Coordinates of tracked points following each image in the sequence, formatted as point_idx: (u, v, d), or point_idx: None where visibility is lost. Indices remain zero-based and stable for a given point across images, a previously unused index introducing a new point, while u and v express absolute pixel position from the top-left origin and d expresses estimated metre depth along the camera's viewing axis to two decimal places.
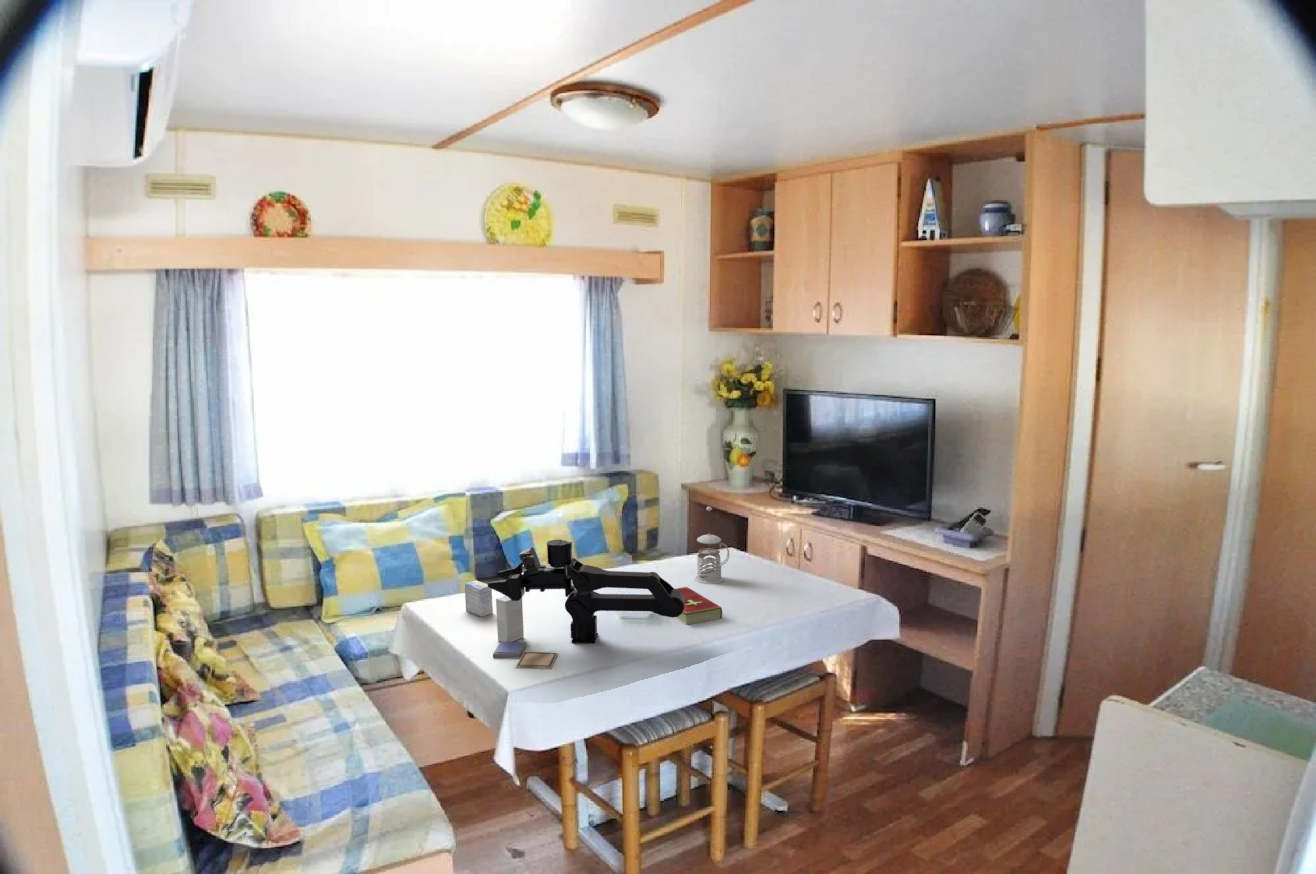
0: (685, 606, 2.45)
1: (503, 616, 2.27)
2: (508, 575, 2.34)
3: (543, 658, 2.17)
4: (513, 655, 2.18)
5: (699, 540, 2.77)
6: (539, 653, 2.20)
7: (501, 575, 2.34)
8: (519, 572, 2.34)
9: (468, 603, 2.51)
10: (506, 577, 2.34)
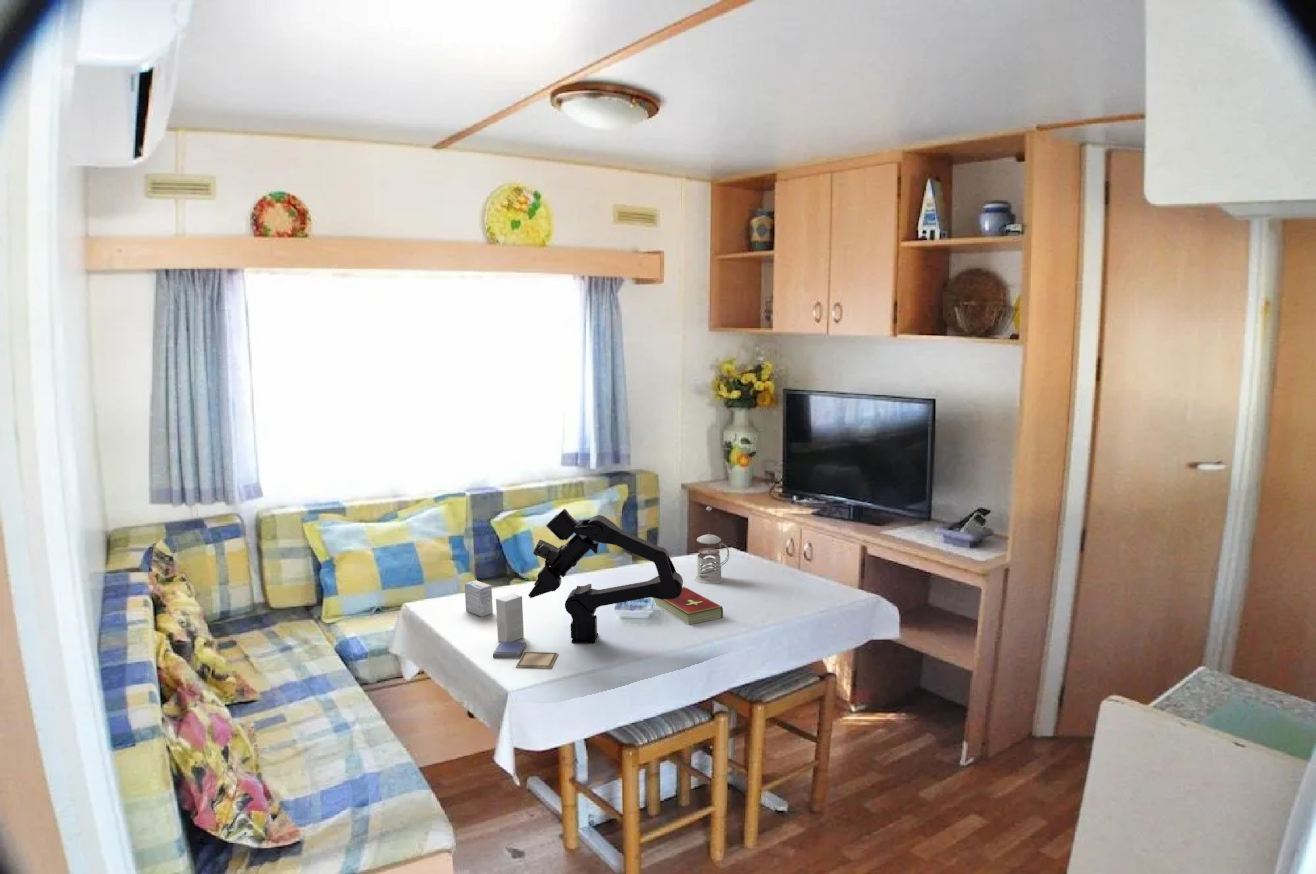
0: (686, 606, 2.45)
1: (503, 616, 2.27)
2: None
3: (543, 658, 2.17)
4: (513, 655, 2.18)
5: (699, 540, 2.77)
6: (539, 653, 2.20)
7: None
8: None
9: (468, 603, 2.51)
10: None
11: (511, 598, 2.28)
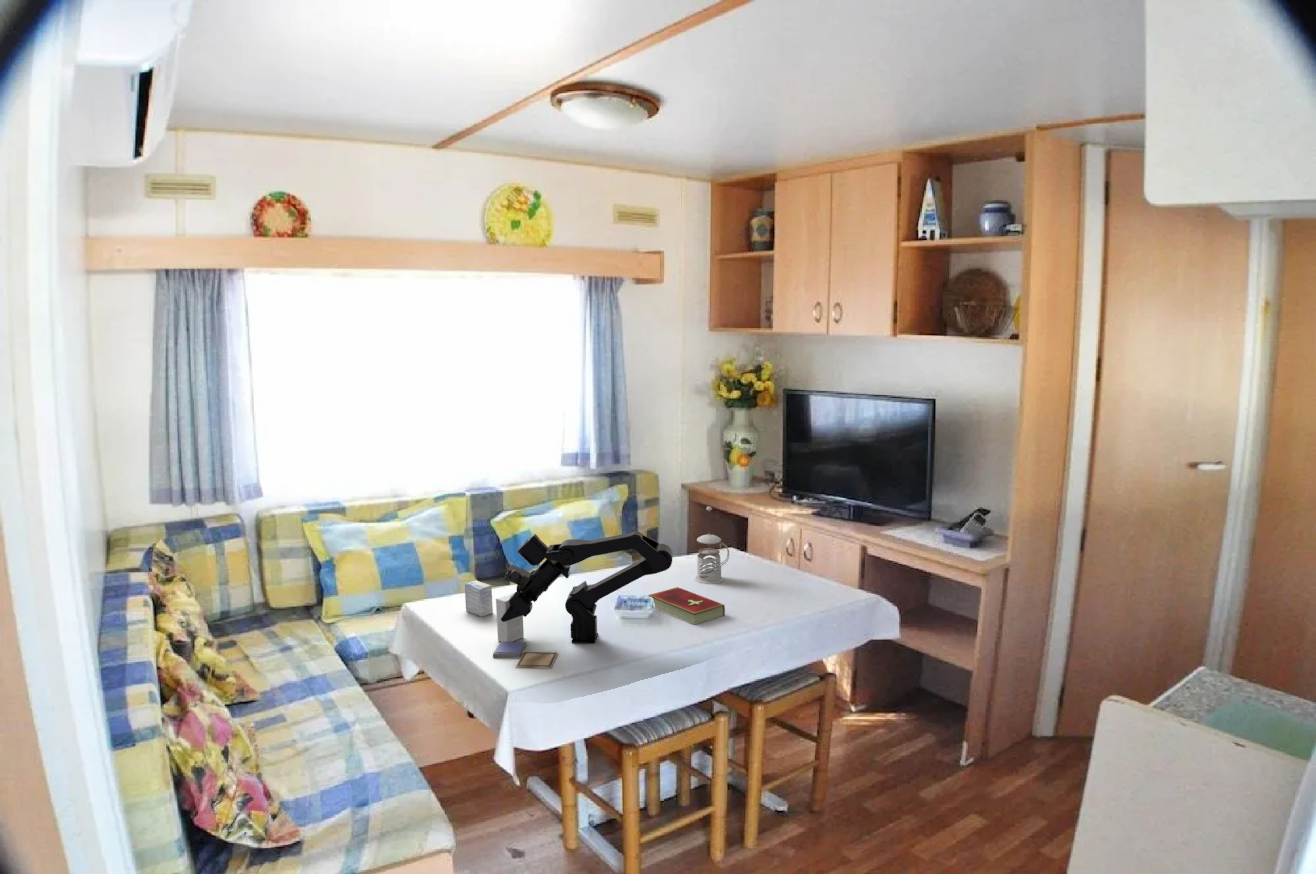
0: (689, 606, 2.45)
1: None
2: None
3: (543, 658, 2.17)
4: (513, 655, 2.18)
5: (699, 540, 2.77)
6: (539, 653, 2.20)
7: None
8: None
9: (468, 603, 2.51)
10: None
11: None
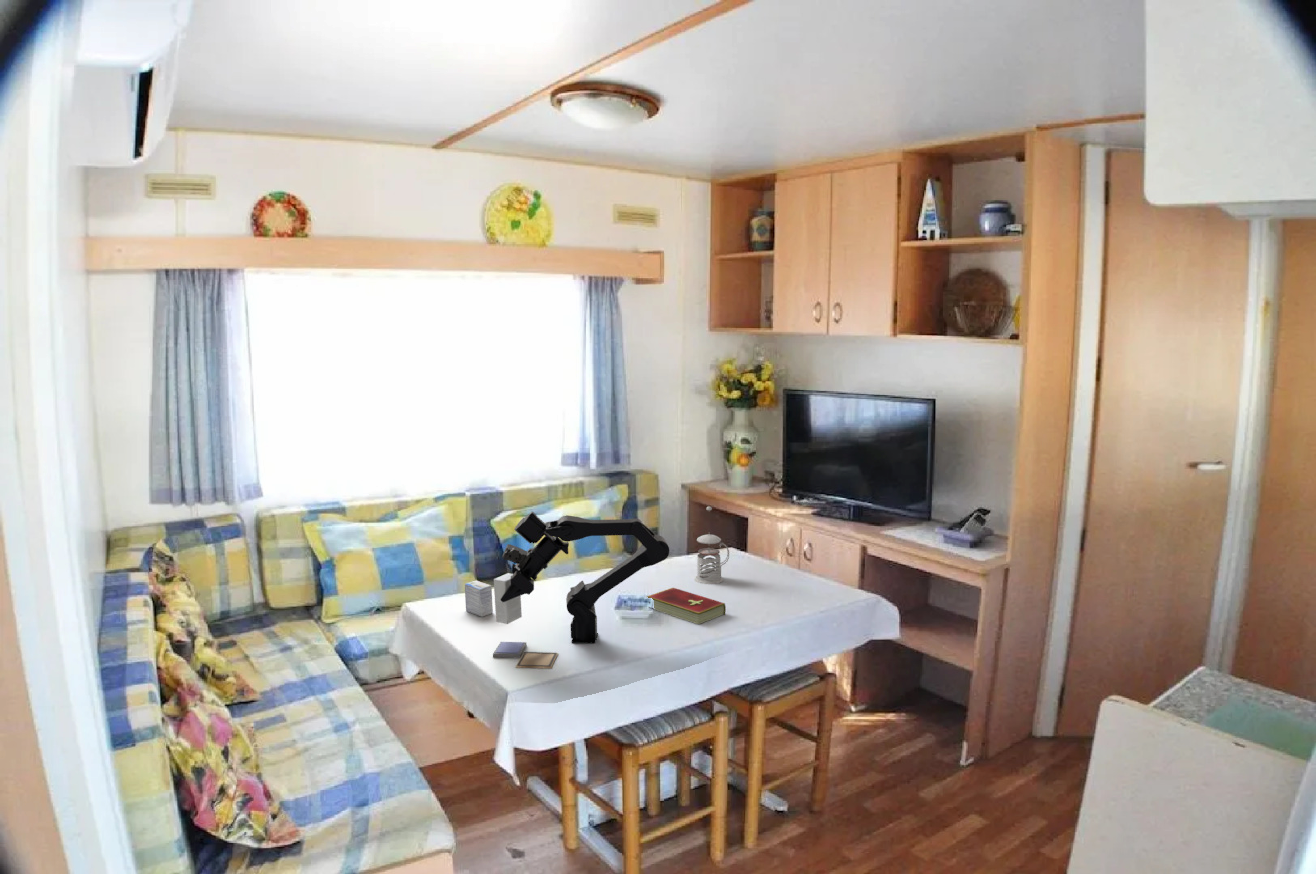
0: (691, 606, 2.45)
1: None
2: None
3: (543, 658, 2.17)
4: (513, 655, 2.18)
5: (699, 540, 2.77)
6: (539, 653, 2.20)
7: None
8: None
9: (468, 603, 2.51)
10: None
11: (509, 578, 2.24)
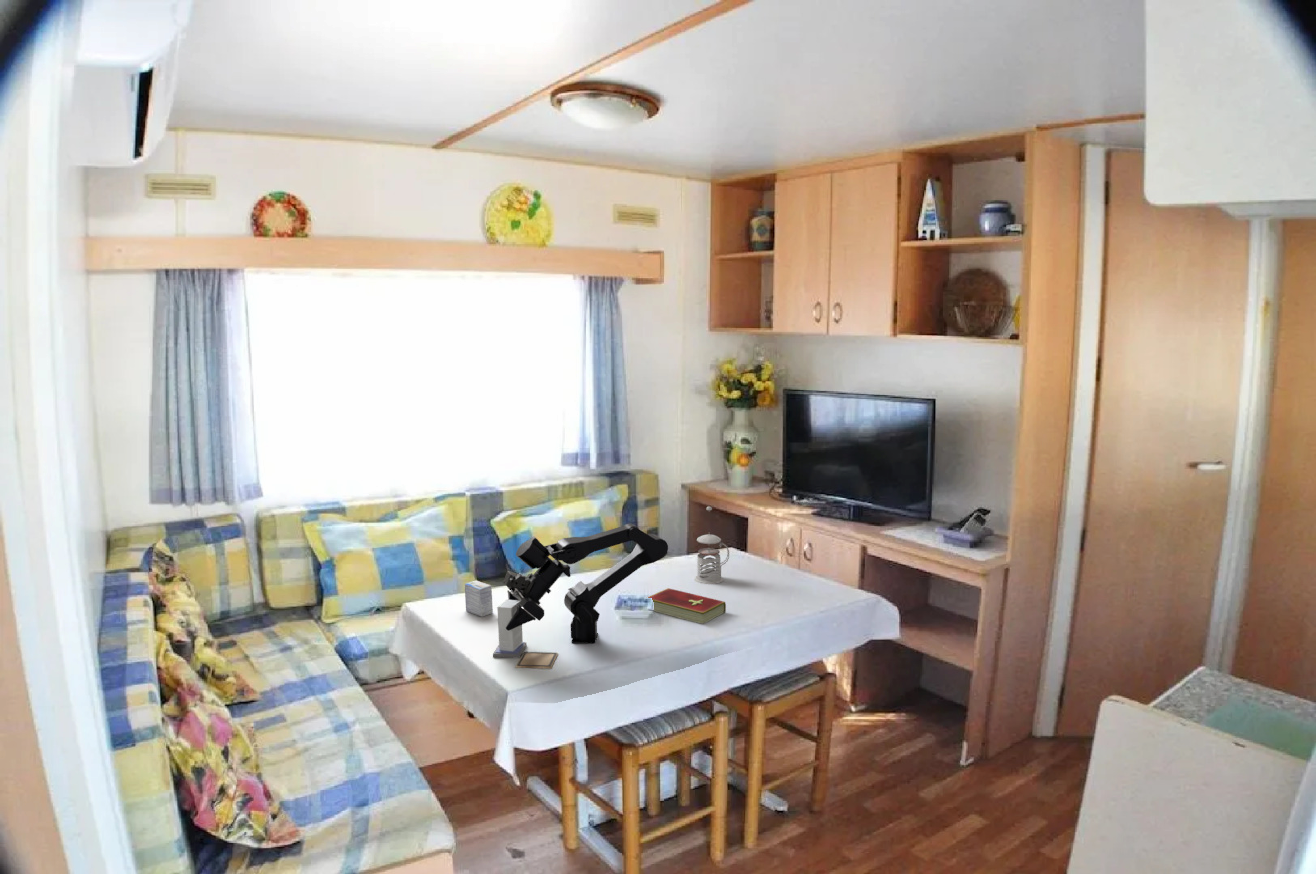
0: (693, 606, 2.45)
1: None
2: None
3: (543, 658, 2.17)
4: (513, 655, 2.18)
5: (699, 540, 2.77)
6: (539, 653, 2.20)
7: None
8: None
9: (468, 603, 2.51)
10: None
11: (513, 604, 2.20)
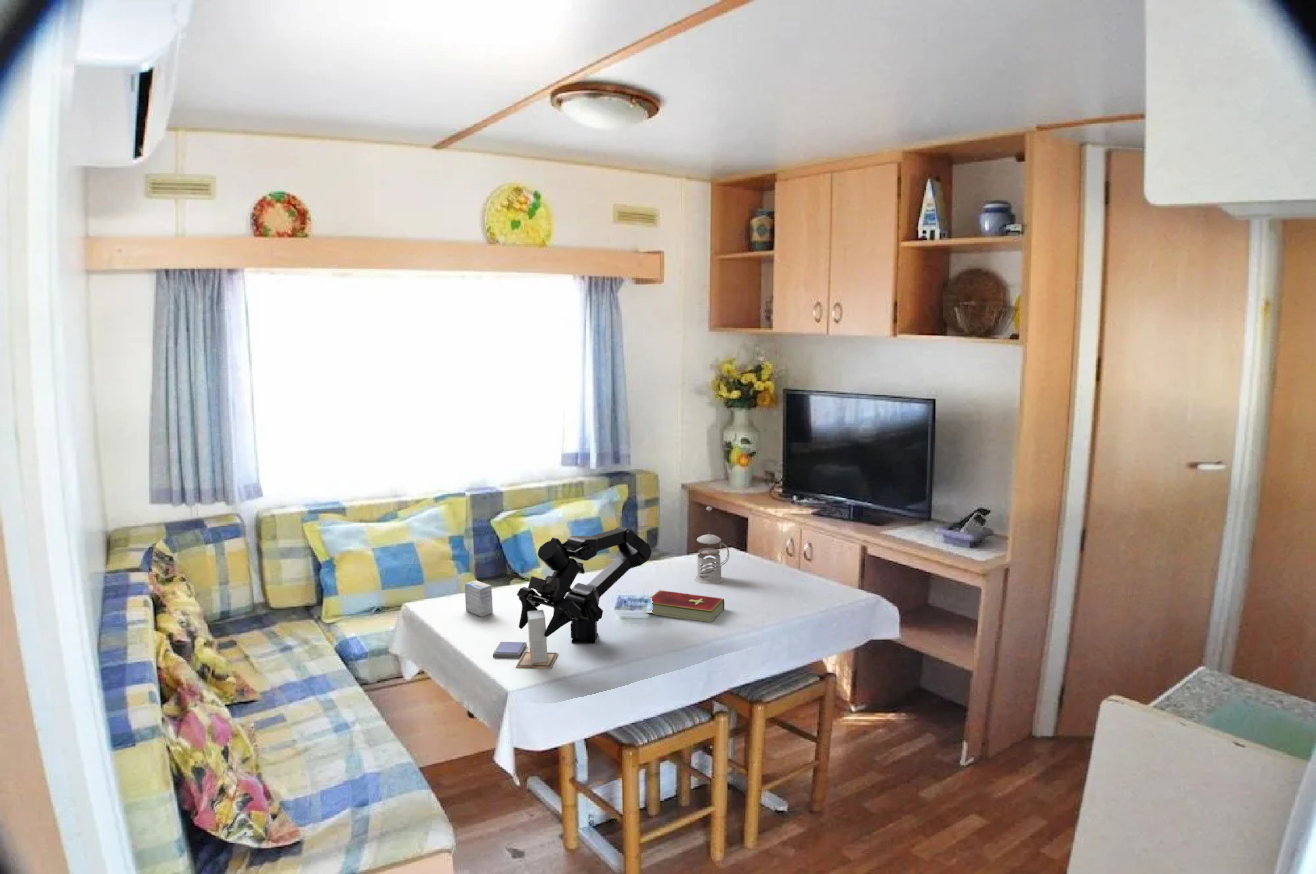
0: (697, 606, 2.46)
1: (541, 635, 2.13)
2: (527, 617, 2.19)
3: None
4: (513, 655, 2.18)
5: (699, 540, 2.77)
6: None
7: (523, 624, 2.18)
8: (530, 605, 2.20)
9: (468, 603, 2.51)
10: (527, 620, 2.19)
11: (541, 614, 2.15)
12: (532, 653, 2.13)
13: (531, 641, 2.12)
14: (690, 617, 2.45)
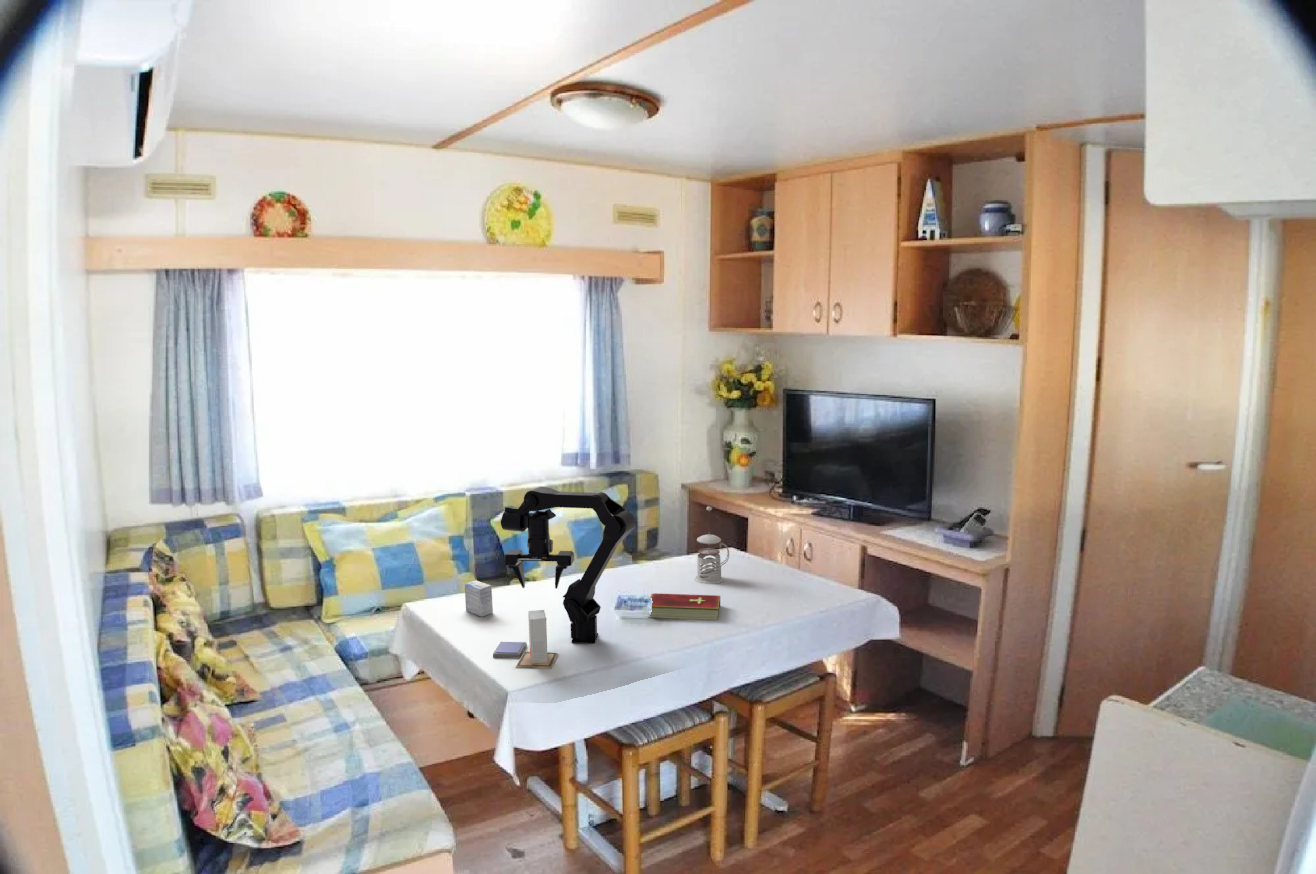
0: (701, 605, 2.47)
1: (542, 635, 2.13)
2: None
3: None
4: (513, 655, 2.18)
5: (699, 540, 2.77)
6: None
7: None
8: None
9: (468, 603, 2.51)
10: (555, 580, 2.32)
11: (542, 614, 2.15)
12: (532, 653, 2.13)
13: (531, 641, 2.12)
14: (696, 617, 2.45)
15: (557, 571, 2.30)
